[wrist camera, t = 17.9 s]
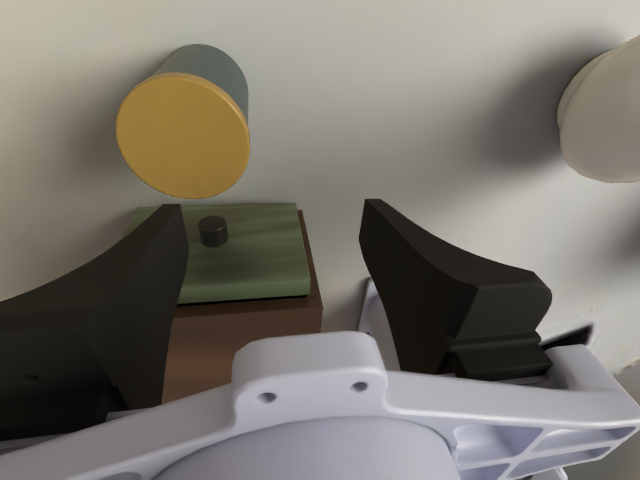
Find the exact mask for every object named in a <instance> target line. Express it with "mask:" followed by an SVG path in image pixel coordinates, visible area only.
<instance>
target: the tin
mask: <svg viewBox="0 0 640 480" xmlns="http://www.w3.org/2000/svg"><path fill="white" fill-rule="evenodd" d="M115 132H116V139H117V143H118V146H119V149H120V152H121V154H122V156H123V158H124V160H125V161H126V163H127V164H128V166H129V167H130V168H131V170H132V171H133V172H134V173H135V174H136V175H137V176H138V177H139V178H140V179H141V180H143V181H144V182H145V183H147V184H148V185H149V186H151V187H153V188H154V189H156V190H158V191H160V192H162V193H165V194H168V195H170V196H174V197H178V198H184V199H203V198H208V197H212V196H215V195H218V194H220V193H222V192H224V191H226V190H227V189H229V188H230V187H231V186H232V185H234V184H235V183H236V182H237V181H238V179H239V178H240V177H241V175H242V174H243V172H244V170H245V168H246V166H247V163H248V160H249V153H250V136H249V130H248V86H247V82H246V79H245V77H244V75H243V73H242V71H241V69H240V68H239V66H238V65H237V64H236V62H235V61H234V60H233V59H232V58H231V57H230V56H228V55H227V54H226V53H224V52H223V51H221V50H219V49H217V48H215V47H212V46H208V45H202V44H193V45H187V46H184V47H182V48H180V49H178V50H176V51H175V52H174V53H172V54H171V55H170V57H169V58H168V59H167V60H166V61H165V62H164V63H163V64H162V65H161V66H160V67H159V68H158V69H157V70H156V71H155V72H154V73H153V74H152V75H151V76H150V77H149V78H148V79H146V80H144V81H142V82H141V83H139V84H138V85H137V86H136V87H135V88H133V89H132V90H131V92H130V93H129V94H128V95H127V96H126V97H125V98H124V100H123V101H122V103H121V105H120V107H119V110H118V112H117V117H116V124H115Z"/></svg>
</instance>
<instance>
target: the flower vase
mask: <svg viewBox="0 0 640 480" xmlns="http://www.w3.org/2000/svg"><path fill="white" fill-rule="evenodd" d="M557 124H558V127H559V129H560V147H561V150H562V153H563V155H564V158H565V160H566V162H567V164H568V165H569V166H570V167H571V168H572V169H573V170H575V171H576V172H577V173H578V174H579V175H581V176H584V177H587V178H590V179H593V180H597V181H600V182H605V183H632V182H640V35H639V36H637V37H635V38H633V39H631V40H629V41H627V42H625V43H623V44H622V45H620V46H618V47H617V48H616V49H612V50H609V51H607V52H605V53H603V54H601V55H599V56H597V57H595V58H594V59H593V60H592V61H590V62H589V63H588V64H586V65H585V66H584V67H583V68H582V69H581V70H580V71H579V72H578V73H577V74H576V75H575V76H574V77H573V79H572V80H571V82H570V83H569V85H568V86H567V88H566V89H565V91H564V93H563V95H562V98H561V100H560V102H559V106H558V110H557Z"/></svg>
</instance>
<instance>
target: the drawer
mask: <svg viewBox="0 0 640 480" xmlns="http://www.w3.org/2000/svg"><path fill="white" fill-rule="evenodd" d="M158 208H159V207H138V208H137V210H136V212H135V214H134V216H133V218H132V220H131V222H130V224H129V226H128V228H127V231H126V233H125V235H124V237H126V236H127V235H128V234H129V233H131V232H132V231H133V230H134V229H135V228H137V227H138V226H139V225H140V224H141V223H142V222H144V221H145V220H146V219H147V218H148V217H149V216H150V215H151V214H153V213H154V212H155V211H156V210H157V209H158ZM181 210H182V215H183V220H184V225H185V229H186V234H187V239H188V244H189V254H188V263H187V270H186V273H185V277H184V281H183V285H182V288H181V292H180V295H179V299H178V302H177V306H176V307H179V306H193V305H207V304H220V303H234V302H248V301H262V300H276V299H290V298H294V296H297V295H309V294H310V280H311V279H310V274H309V269H308V264H307V259H306V254H305V248H304V243H303V238H302V233H301V228H300V223H299V218H298V213H297V208H296V203H280V204H243V205H206V206H181ZM124 237H123V238H124Z"/></svg>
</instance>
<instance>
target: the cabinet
mask: <svg viewBox="0 0 640 480" xmlns="http://www.w3.org/2000/svg"><path fill="white" fill-rule="evenodd" d="M297 213H298V218H299V223H300V228H301V233H302V238H303V243H304V248H305V254H306V259H307V264H308V269H309V274H310V279H311V280H310V294H309V295H297V296H294V298H290V299H276V300H262V301H248V302H234V303H220V304H207V305H193V306H179V307H176V310H175V313H174V317H173V322H172V326H171V333H170V339H169V346H168V353H167V361H166V368H165V376H164V386H163V395H162V404H165V403H169V402H172V401H175V400H178V399H181V398H184V397H188V396H191V395H194V394H197V393H200V392H204V391H207V390H210V389H213V388H216V387H220V386H223V385H226V384H229V383H231V376H232V363H233V360H234V356H235V353H236V352H237V351H239V350H240V349H241V348H243V347H244V346H245V345H247V344H248V343H250V342H252V341H256V340H260V339H264V338H268V337H280V336H291V335H302V334H313V333H320V331H321V321H322V311H323V305H322V300H321V295H320V291H319V286H318V281H317V277H316V272H315V268H314V263H313V258H312V254H311V249H310V245H309V240H308V235H307V231H306V226H305V222H304V217H303V212H302V210H297Z"/></svg>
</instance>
